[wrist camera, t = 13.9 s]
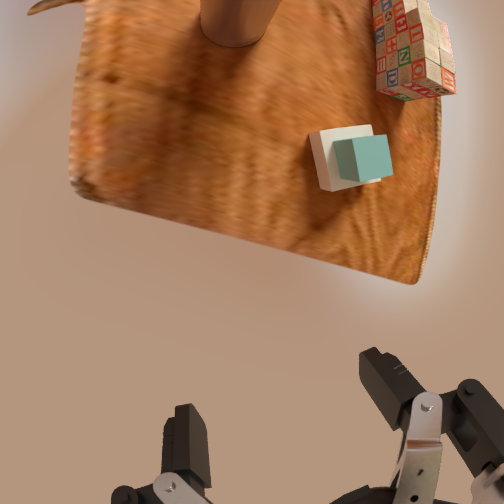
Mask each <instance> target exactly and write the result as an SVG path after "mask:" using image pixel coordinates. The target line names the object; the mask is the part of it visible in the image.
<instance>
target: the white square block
mask: <svg viewBox="0 0 504 504" xmlns="http://www.w3.org/2000/svg"><path fill="white" fill-rule="evenodd" d="M363 136H373V131H372V126H371V124H369V125H359V126H351V127H343V128H335V129H328V130H322V131H317V132H313V133H309V139H310V143H311V147H312V152H313V156H314V161H315V166H316V170H317V175H318V180H319V185H320V189H323V190H327V191H331V192H334V191H338V190H342V189H346V188H351V187H355V186H359V185H364V184H368V183H373V182H377V181H381V178H377V179H372V180H368V181H363V182H356V181H351V180H345V179H341V178H340V173H339V168H338V163H337V158H336V153H335V148H334V144H333V141H337V140H343V139H349V138H356V137H363Z"/></svg>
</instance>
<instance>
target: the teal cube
mask: <svg viewBox="0 0 504 504" xmlns="http://www.w3.org/2000/svg"><path fill="white" fill-rule="evenodd" d="M333 144H334V148H335V153H336V158H337V163H338V168H339V173H340V178H341V179H345V180H351V181H356V182H363V181H368V180H372V179H377V178H381V177H386V176H391V175H393V170H392V163H391V157H390V151H389V146H388V140H387V135H386V134H385V135H373V136H363V137H356V138H349V139H343V140H337V141H333Z"/></svg>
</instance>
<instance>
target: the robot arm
mask: <svg viewBox="0 0 504 504" xmlns="http://www.w3.org/2000/svg"><path fill="white" fill-rule="evenodd" d="M281 1H282V0H200V8H201V9H200V16H201V28H202V31H203V33H204V35H205V36H206V37H207V38H208V39H209V40H211V41H212V42H214V43H216V44H218V45H221V46H225V47H243V46H247V45H250V44H252V43H254V42H256V41H257V40H259V39H260V38H261V37H262V36H263V34H264V32H265V30H266V28H267V27H268V25H269V23H270V21H271V19H272V17H273V15H274V14H275V12H276V10H277V8H278V6H279V4H280V2H281ZM359 376H360V380H361V382H362V384H363V386H364V387H365V389H366V390H367V392H368V393H369V395H370V396H371V398H372V399H373V401H374V402H375V404H376V405H377V407H378V408H379V410H380V411H381V413H382V415H383V416H384V418H385V419H386V421H387V422H388V423H389V425H390V426H391V428H392V430H393V431H395V430H397V429H398V428H401V430H402V431H403V434H402V439H401V444H400V449H399V453H398V458H397V462H396V466H395V469H394V472H393V475H392V478H391V481H390V484H389V487H374V488H369V486H368V485H366V486H364V487H361V488H359V489H357V490H354V491H352V492H350V493H347V494H344V495H343V496H341V497H340V498H338V499H337V500H335V501H333V502H332V503H330V504H457V503H451V502H446V501H442V500H437V499H434V495H435V491H436V486H437V481H438V475H439V470H440V463H441V456H442V443H441V442H440V435H441V434H444V433H446V434H447V435H448V437H449V438H450V440H451V441H452V443H453V444H454V446H455V447H456V449H457V451H458V452H459V454H460V455H461V457H462V459H463V460H464V461H465V463H466V465H467V467H468V468H469V470H470V471H471V473H472V475H473V476H474V478H475V479H474V480H473V482H472V485H471V493H472V496H473V500H472V504H504V410H503V409H502V407H501V406H500V405H499V404H498V402H497V401H496V400H495V399H494V398H493V397H492V396H491V394H490V393H489V392H488V391H487V390H486V389H485V387H484V386H483V385H482V384H481V383H480V382H479V381H477V380H475V379H466V380H464V381H462V382H461V383H460V384H459V386H458V388H457V390H454V391H451V392H447V393H444V394H439V395H438V394H436V393H433V392H427V391H426V390H425V389H424V388H423V387H422V386H421V385H420V384H419V382H418V381H417V380H416V379H415V378H414V377H413V375H412V374H411V373H410V372H409V371H407V368H405V366H404V365H402V363H401V362H400V361H399V359H398V358H397V357H396V356H394V355H392V354H389V353H387V352H386V353H384V354H381V353H380V352H379V351H378V349H377V348H376V347H372V348H370V349H368V350H365V351H363V352H361V353H360V354H359ZM163 436H164V438H163V447H162V467H161V474H160V475H159V476H158V477H157V478H156V479H155V480H154V483H152V484H150V485H147V486H144V487H141V488H137V489H133V488H132V487H129V486H125V485H124V486H120V487H118V488H116V489H115V490H114V491H113V493H112V496H111V504H213V503H212V502H211V501H210V500H209V499H208V498H207V497H205V492H204V488H211V477H210V466H209V454H208V441H207V430H206V426H205V423H204V421H203V419H202V418H201V416H200V415H199V413H198V412H197V410H196V409H195V407H194V406H193V405H192V404H191V403H190V404H185V405H179V406H176V407H175V417H172V418H168V420H167V422H166V424H165V426H164V432H163Z"/></svg>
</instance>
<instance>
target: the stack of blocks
mask: <svg viewBox="0 0 504 504" xmlns="http://www.w3.org/2000/svg"><path fill="white" fill-rule="evenodd" d="M372 5H373V7H372V9H373V18H374V31H375V44H376V91H377V92H380V93H383V94H386V95H388V96H392V97H394V98H397V99H400V100H402V101H411V100H415V99H422V98H431V97H437V96H443V95H452V94H456V86H455V66H454V59H453V57H452V56H453V53H452V47H451V42H450V38H449V33H448V28H447V25H446V24H445V23H443V22H442V21H440V20H439V19H437V18H435V17H434V16H432V15H431V10H430V6H429V3H428V0H372Z"/></svg>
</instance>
